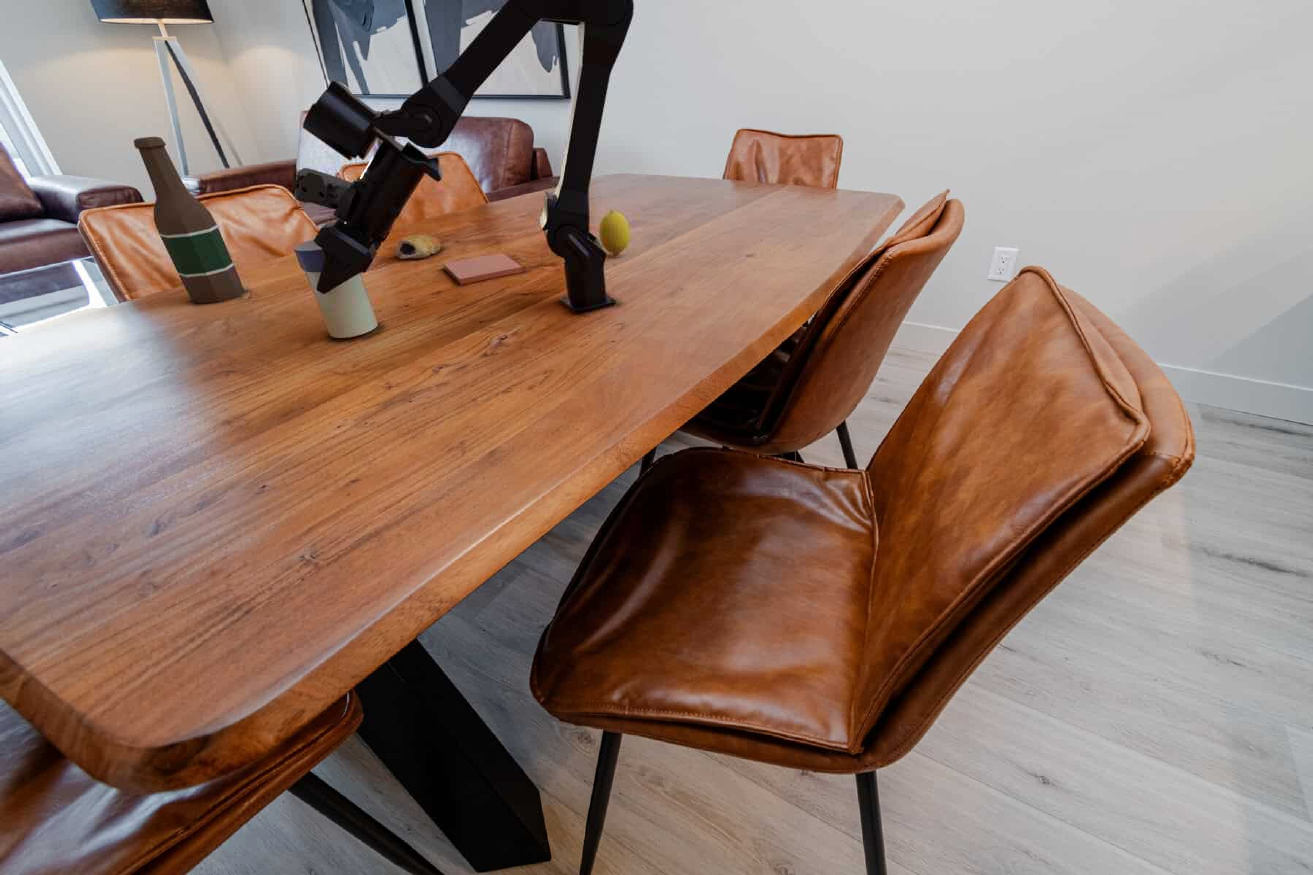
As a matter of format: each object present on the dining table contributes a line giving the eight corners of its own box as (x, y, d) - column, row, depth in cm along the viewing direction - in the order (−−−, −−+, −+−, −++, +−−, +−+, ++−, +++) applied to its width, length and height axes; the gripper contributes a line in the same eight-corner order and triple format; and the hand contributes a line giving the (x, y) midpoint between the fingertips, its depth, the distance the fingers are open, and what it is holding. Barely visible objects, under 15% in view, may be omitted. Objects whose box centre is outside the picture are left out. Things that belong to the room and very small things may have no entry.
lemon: (595, 258, 109) (591, 212, 105) (611, 250, 113) (607, 206, 109) (621, 261, 107) (618, 214, 103) (636, 253, 111) (633, 208, 107)
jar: (383, 328, 83) (356, 245, 77) (335, 342, 80) (302, 256, 74) (370, 316, 87) (343, 236, 81) (324, 329, 84) (292, 247, 78)
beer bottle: (219, 305, 97) (144, 140, 84) (180, 303, 98) (100, 142, 85) (255, 289, 103) (191, 134, 90) (218, 288, 105) (149, 135, 92)
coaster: (523, 272, 104) (522, 266, 104) (460, 284, 100) (459, 279, 99) (503, 258, 112) (502, 252, 112) (444, 269, 108) (443, 263, 107)
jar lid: (364, 262, 78) (357, 241, 77) (307, 275, 75) (299, 254, 73) (349, 252, 83) (343, 233, 81) (296, 264, 79) (288, 244, 78)
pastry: (421, 246, 122) (417, 227, 120) (451, 247, 121) (446, 228, 119) (393, 259, 115) (388, 239, 113) (424, 261, 113) (419, 240, 111)
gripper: (338, 134, 79) (283, 229, 84) (301, 150, 64) (236, 267, 68) (416, 190, 85) (361, 277, 89) (400, 217, 69) (334, 321, 74)
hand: (326, 283), depth 80 cm, fingers closed on jar, jar lid, 6 cm apart
